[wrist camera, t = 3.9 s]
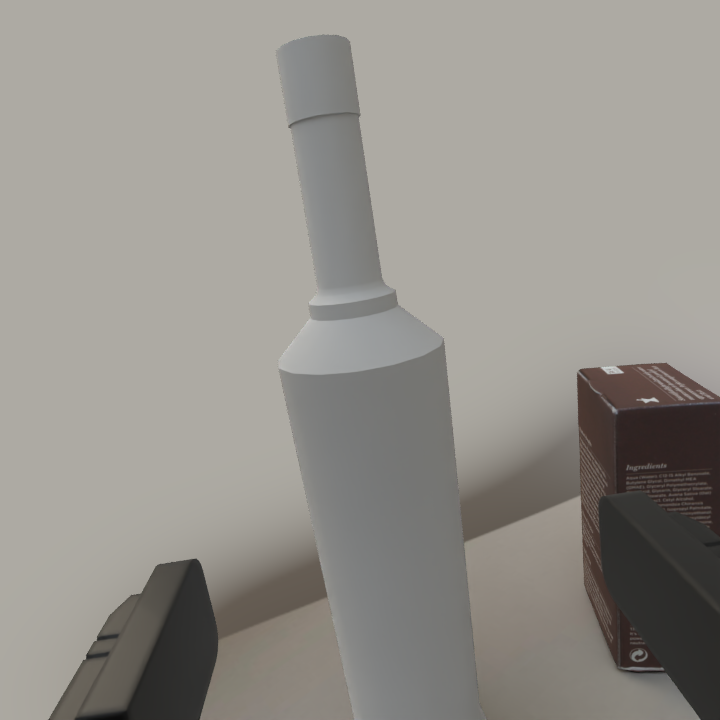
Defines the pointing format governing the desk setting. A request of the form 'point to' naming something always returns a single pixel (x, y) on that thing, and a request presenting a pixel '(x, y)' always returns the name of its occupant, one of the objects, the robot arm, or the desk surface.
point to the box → (643, 468)
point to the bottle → (372, 427)
